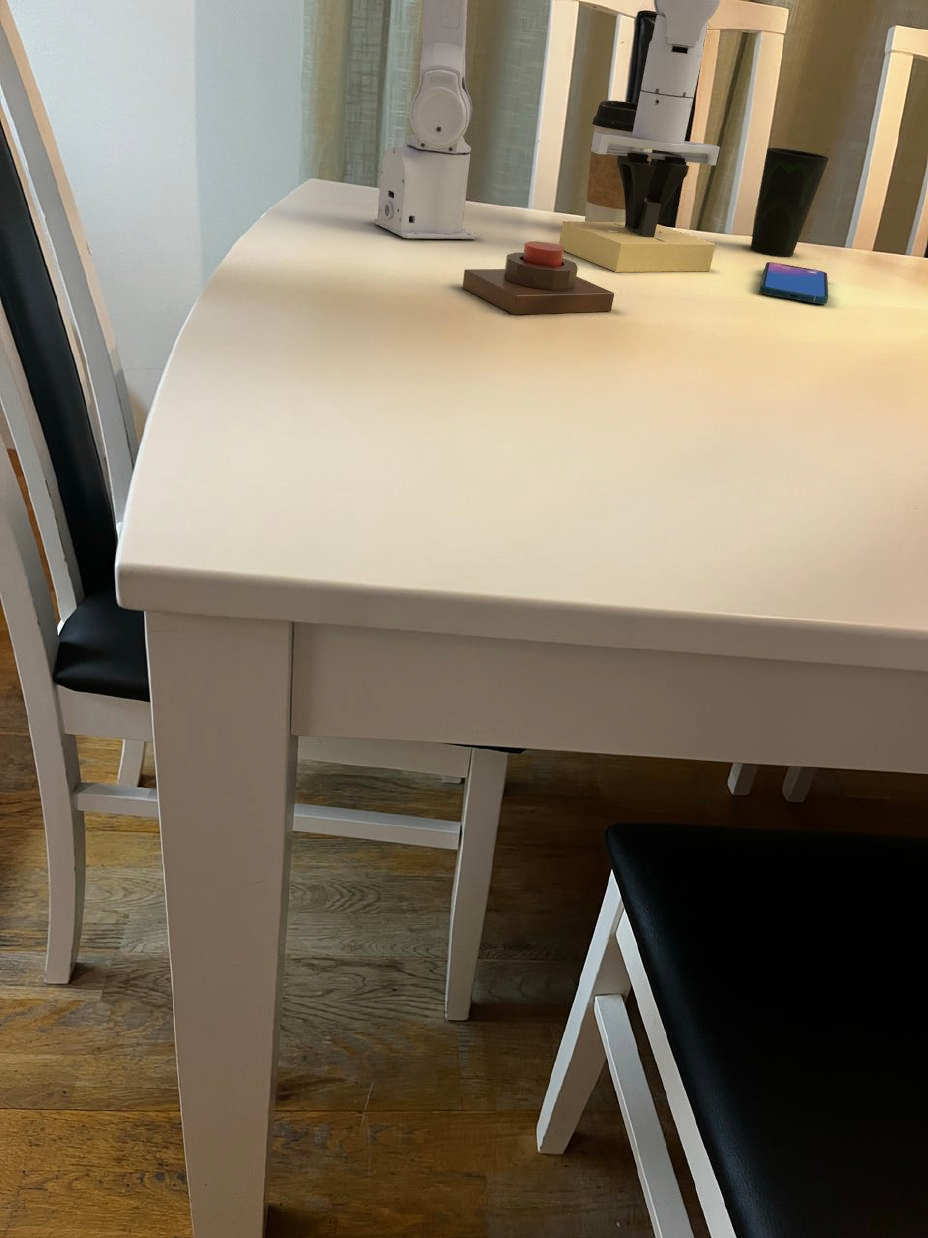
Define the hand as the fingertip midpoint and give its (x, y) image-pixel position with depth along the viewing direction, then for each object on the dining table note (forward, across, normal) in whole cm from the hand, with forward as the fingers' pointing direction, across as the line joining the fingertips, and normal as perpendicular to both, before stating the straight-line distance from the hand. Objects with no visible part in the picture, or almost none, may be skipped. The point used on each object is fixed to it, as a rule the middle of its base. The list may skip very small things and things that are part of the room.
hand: (640, 227), depth 111 cm
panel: (+3, 0, 0) cm, 3 cm away
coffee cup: (+4, -2, -14) cm, 15 cm away
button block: (+3, +20, +21) cm, 29 cm away
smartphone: (+3, -16, +9) cm, 19 cm away
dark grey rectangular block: (0, 0, 0) cm, 0 cm away
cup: (+4, -25, -11) cm, 28 cm away
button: (0, +20, +21) cm, 28 cm away
